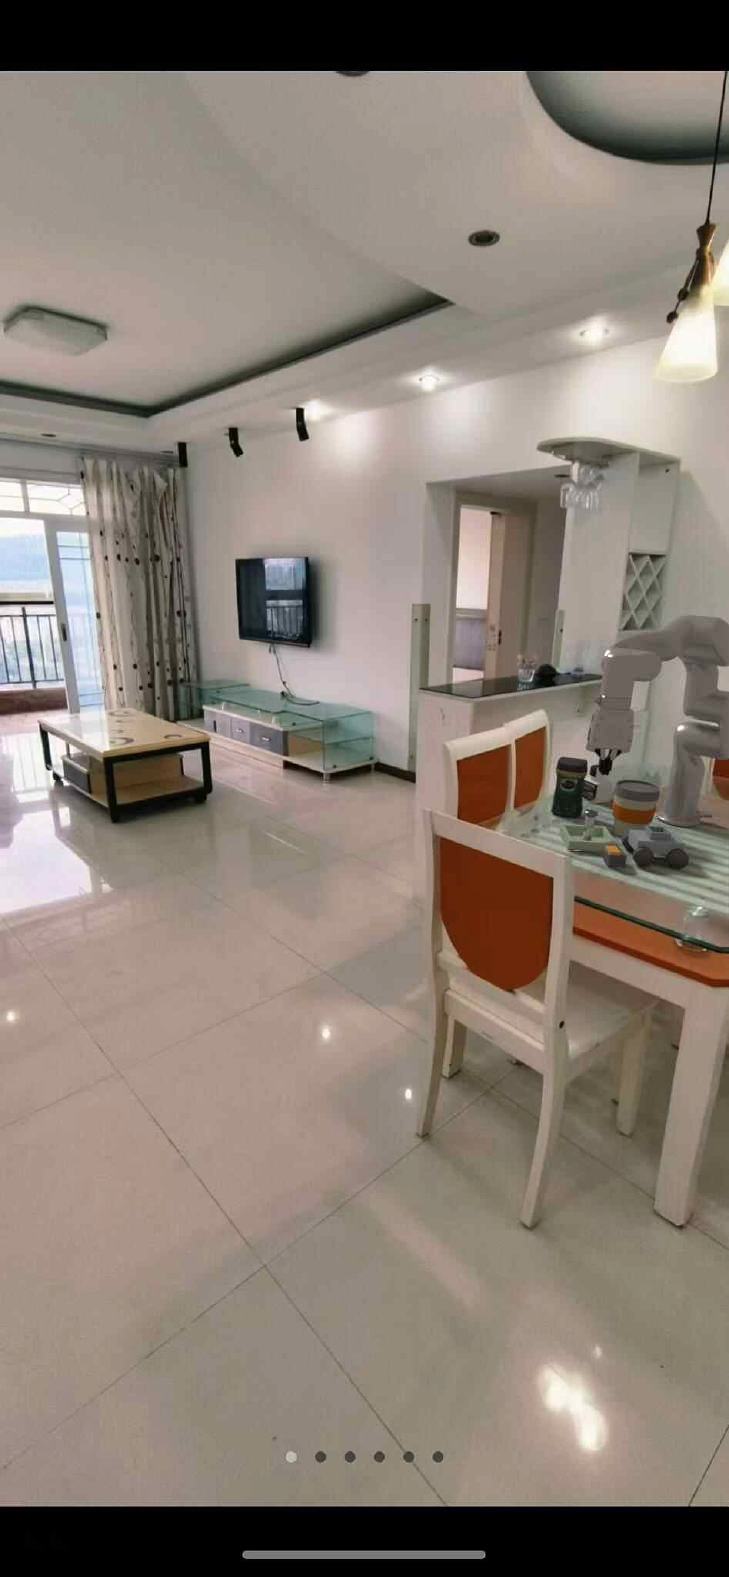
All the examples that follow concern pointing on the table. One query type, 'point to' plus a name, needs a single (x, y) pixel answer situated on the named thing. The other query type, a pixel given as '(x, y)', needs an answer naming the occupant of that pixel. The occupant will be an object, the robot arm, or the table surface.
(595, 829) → the tray
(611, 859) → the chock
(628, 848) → the toy car
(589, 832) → the pin
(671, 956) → the table surface
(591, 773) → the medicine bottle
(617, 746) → the robot arm
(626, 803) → the reusable coffee cup
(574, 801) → the coffee jar
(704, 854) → the table surface
